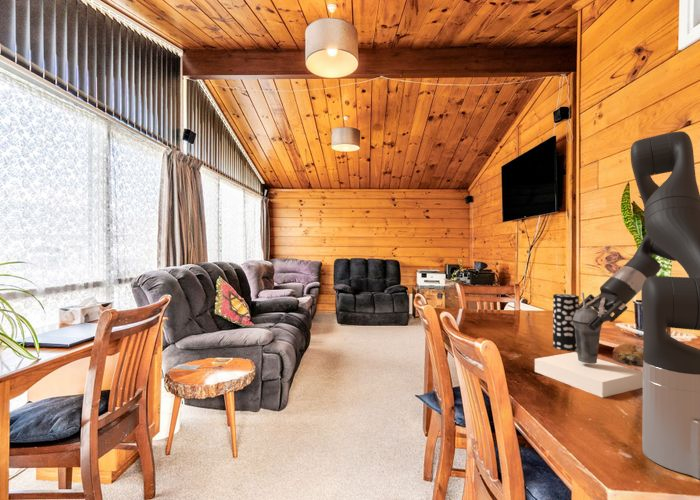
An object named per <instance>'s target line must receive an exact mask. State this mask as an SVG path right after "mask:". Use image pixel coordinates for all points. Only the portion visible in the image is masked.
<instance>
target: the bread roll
mask: <svg viewBox="0 0 700 500" xmlns="http://www.w3.org/2000/svg"><path fill="white" fill-rule="evenodd" d="M612 358H613V360H614V361H615V362H617V363H620V364H623V365H624V364H625V365H629V366H637V367H641V366H642V367H643V346H640V345H639V344H636V343H632V342H623V343H621V344H619V345H617V346H615V347H614V349H613V350H612Z"/></svg>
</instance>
